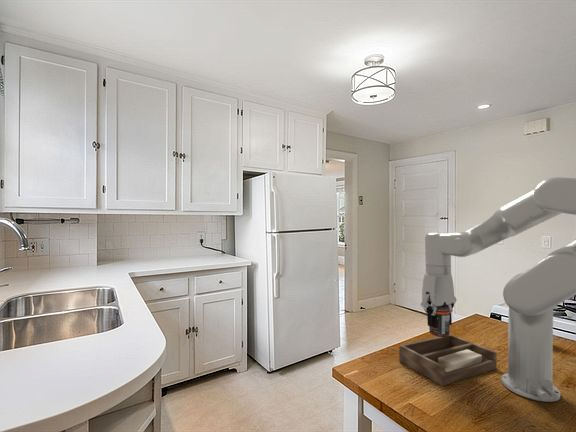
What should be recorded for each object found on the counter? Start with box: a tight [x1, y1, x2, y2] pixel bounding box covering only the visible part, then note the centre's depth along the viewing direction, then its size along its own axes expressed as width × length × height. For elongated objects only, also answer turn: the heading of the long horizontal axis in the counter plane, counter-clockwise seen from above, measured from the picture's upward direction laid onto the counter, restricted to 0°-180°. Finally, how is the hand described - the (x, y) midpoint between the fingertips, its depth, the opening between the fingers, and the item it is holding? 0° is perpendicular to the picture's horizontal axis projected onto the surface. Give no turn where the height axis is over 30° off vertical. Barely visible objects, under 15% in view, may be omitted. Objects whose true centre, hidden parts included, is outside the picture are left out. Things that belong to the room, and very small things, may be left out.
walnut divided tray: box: [398, 333, 498, 386], centre depth 96 cm, size 16×24×5 cm, turn 114°
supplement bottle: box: [428, 302, 451, 337], centre depth 99 cm, size 6×6×11 cm
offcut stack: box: [437, 349, 482, 373], centre depth 92 cm, size 5×18×4 cm, turn 116°
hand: (439, 324), depth 99 cm, fingers closed on supplement bottle, 6 cm apart
